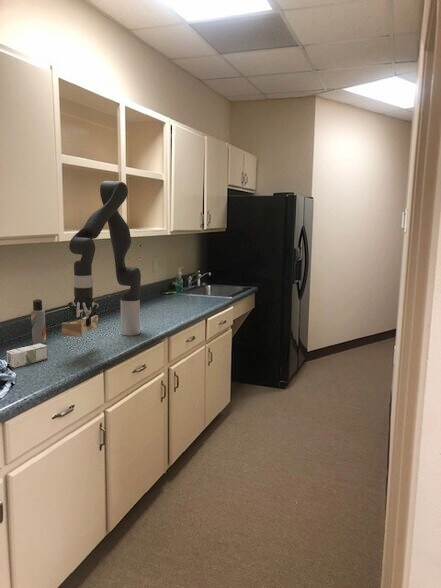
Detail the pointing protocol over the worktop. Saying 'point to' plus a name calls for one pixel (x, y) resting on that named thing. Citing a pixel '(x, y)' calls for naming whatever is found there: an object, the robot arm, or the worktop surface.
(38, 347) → the syrup box
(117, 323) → the worktop surface
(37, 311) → the lotion bottle
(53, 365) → the worktop surface
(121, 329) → the robot arm
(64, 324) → the tan wooden block
